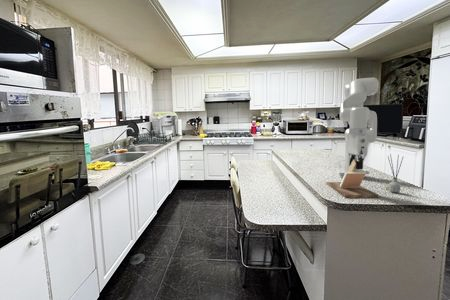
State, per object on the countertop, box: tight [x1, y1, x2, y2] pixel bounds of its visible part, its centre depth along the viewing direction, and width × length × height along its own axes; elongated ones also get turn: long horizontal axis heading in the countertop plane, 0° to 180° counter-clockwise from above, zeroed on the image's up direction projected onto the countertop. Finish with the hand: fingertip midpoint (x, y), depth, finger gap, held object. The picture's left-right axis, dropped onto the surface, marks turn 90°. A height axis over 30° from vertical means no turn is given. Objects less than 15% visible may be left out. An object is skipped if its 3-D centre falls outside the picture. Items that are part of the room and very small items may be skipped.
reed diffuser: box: [385, 153, 404, 193], centre depth 120 cm, size 10×7×20 cm
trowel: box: [338, 159, 359, 180], centre depth 121 cm, size 8×6×13 cm
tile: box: [340, 171, 367, 188], centre depth 122 cm, size 10×11×1 cm
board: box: [324, 181, 380, 199], centre depth 125 cm, size 16×24×2 cm, turn 179°
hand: (355, 167), depth 119 cm, fingers closed on trowel, 5 cm apart
